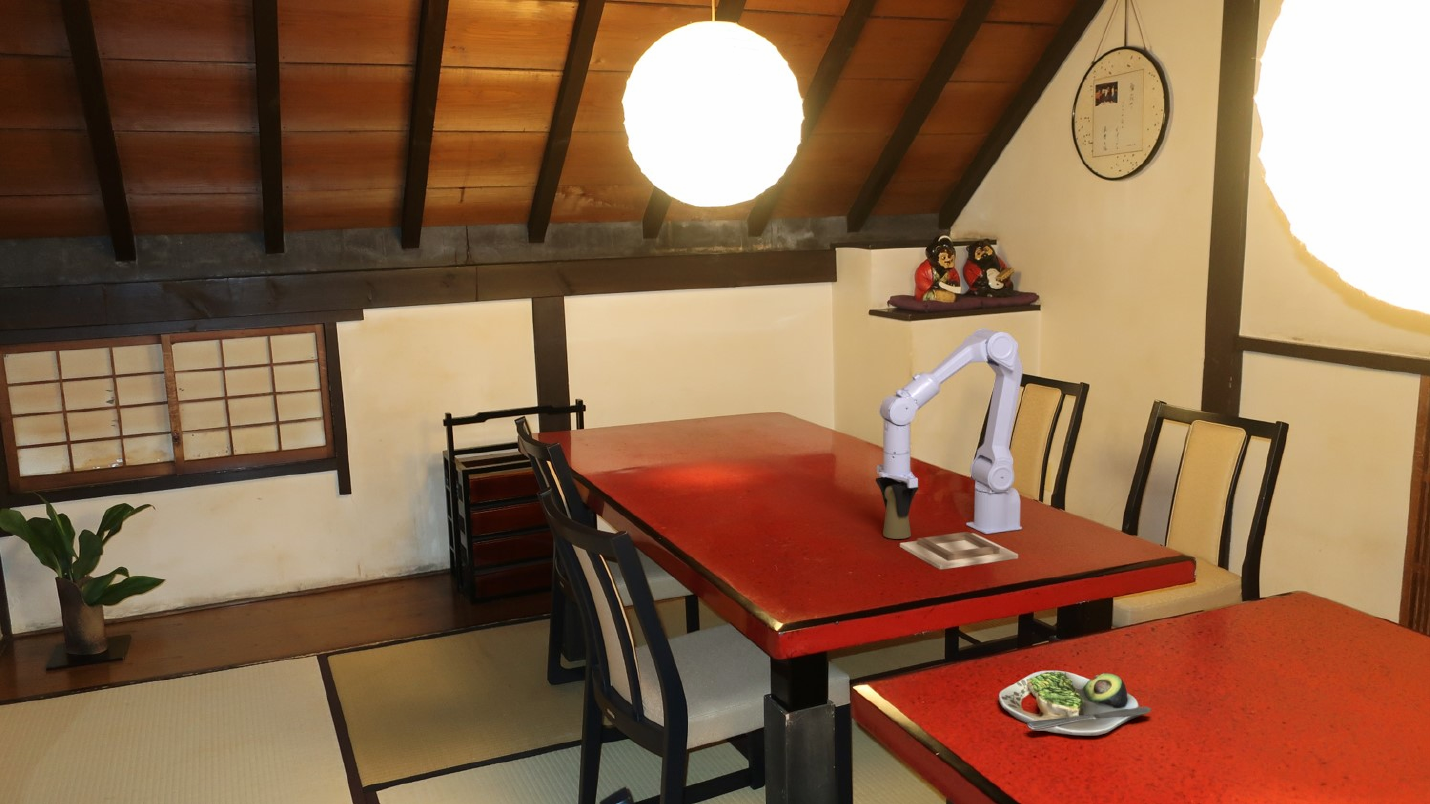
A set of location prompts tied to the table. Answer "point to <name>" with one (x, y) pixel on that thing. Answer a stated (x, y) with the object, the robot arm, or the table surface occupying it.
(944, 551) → the socket board
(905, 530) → the olive tapered peg
